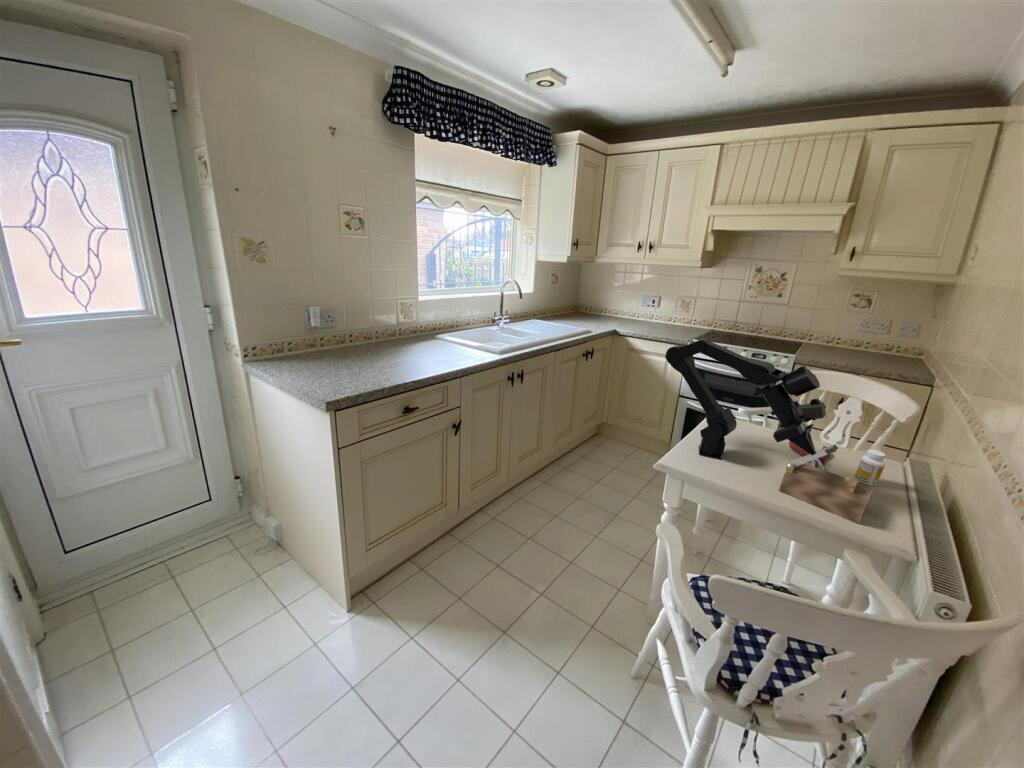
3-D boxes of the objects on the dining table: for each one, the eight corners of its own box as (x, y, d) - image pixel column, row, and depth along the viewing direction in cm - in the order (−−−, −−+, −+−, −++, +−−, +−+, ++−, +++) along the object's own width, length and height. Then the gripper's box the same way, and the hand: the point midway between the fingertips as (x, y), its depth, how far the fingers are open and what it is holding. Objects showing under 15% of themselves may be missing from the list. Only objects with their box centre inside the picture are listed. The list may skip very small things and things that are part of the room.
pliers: (796, 470, 129) (798, 462, 128) (787, 443, 146) (789, 437, 145) (840, 481, 125) (843, 473, 124) (826, 452, 142) (828, 445, 141)
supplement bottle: (872, 478, 126) (883, 450, 123) (880, 488, 121) (892, 458, 118) (851, 474, 128) (861, 446, 124) (858, 483, 123) (869, 454, 119)
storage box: (777, 490, 117) (785, 465, 114) (790, 475, 125) (797, 452, 122) (858, 524, 104) (869, 496, 102) (867, 505, 112) (877, 479, 110)
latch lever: (788, 469, 117) (785, 465, 118) (792, 465, 120) (790, 461, 120) (835, 452, 109) (831, 448, 109) (838, 447, 111) (835, 443, 111)
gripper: (801, 398, 105) (838, 454, 102) (820, 384, 118) (853, 434, 114) (758, 415, 114) (792, 468, 110) (780, 400, 126) (811, 447, 122)
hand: (813, 453), depth 114 cm, fingers closed, pressing on latch lever
